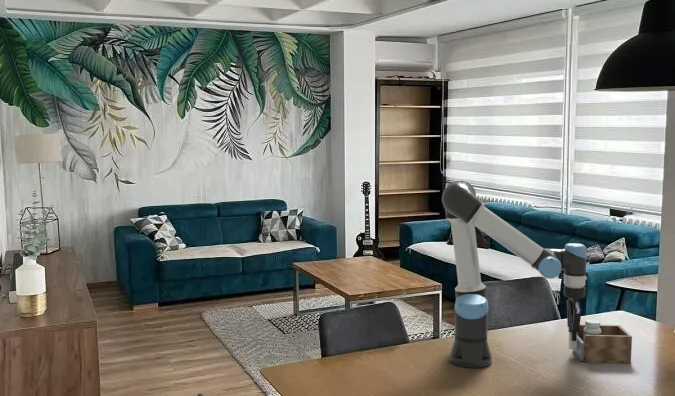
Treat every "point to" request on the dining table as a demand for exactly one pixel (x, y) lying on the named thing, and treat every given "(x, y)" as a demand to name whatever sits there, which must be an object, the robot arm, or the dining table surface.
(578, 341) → the tray
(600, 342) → the wooden box
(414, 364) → the dining table surface
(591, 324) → the pill bottle
